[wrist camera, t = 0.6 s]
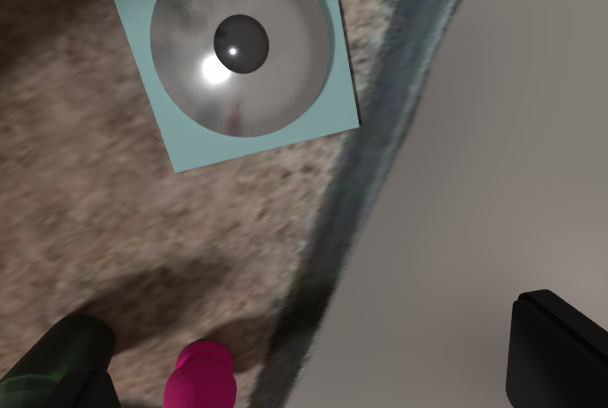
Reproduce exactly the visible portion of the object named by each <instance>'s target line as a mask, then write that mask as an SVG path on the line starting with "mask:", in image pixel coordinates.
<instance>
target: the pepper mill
mask: <svg viewBox="0 0 608 408" xmlns="http://www.w3.org/2000/svg"><path fill="white" fill-rule="evenodd" d="M236 391H237V386H236V381H235V378H234V376H233V357H232V354H231V353H230V351H229V350H228V349H227V348H226V347H225V346H223V345H222V344H220V343H217V342H214V341H206V340H205V341H198V342H195V343H192V344H190V345H189V346H187V347H186V348H184V349H183V350H182V352H181V353H180V354H179V356H178V359H177V363H176V367H175V371H174V372H173V373H172V374H171V376H170V377H169V379H168V381H167V383H166V387H165V392H164V408H233V406H234V404H235V398H236Z"/></svg>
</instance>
